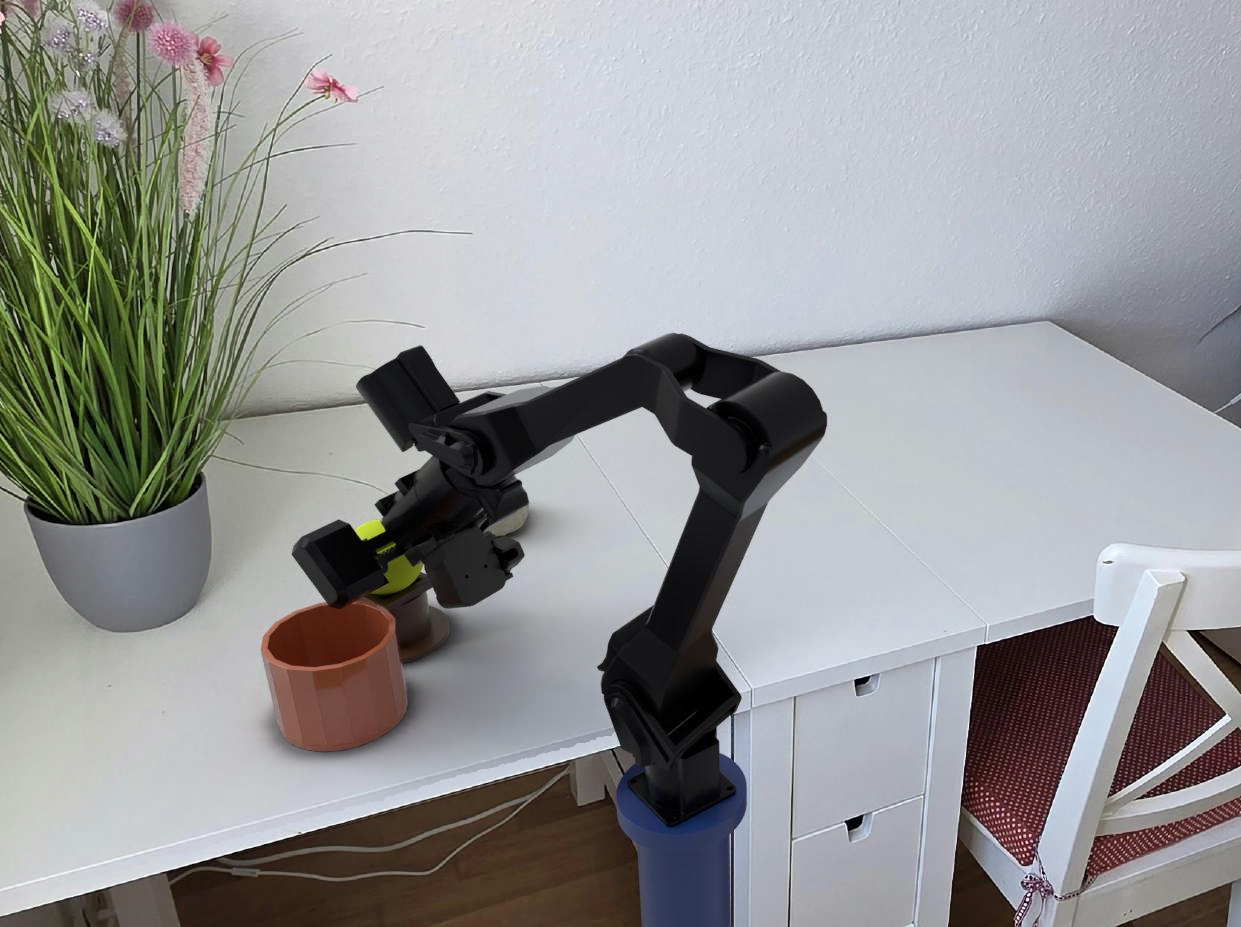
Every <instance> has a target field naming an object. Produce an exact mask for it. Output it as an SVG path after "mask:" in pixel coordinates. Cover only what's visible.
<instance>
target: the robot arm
mask: <svg viewBox="0 0 1241 927" xmlns="http://www.w3.org/2000/svg"><path fill="white" fill-rule="evenodd" d="M435 364H436V363H435V362H434V360H433V359H432V357H431V356H430V354H429V353H428V351H427V350H426V348H425V347H424V346H423V345H421V344H419V345H417V346H413V347H411V348H409V349H406V350H403V351H400V352H399V353H398V354H397V355H396V357H395V358H393V359H391V360H389V361H387V362H385V363H384V364H382V365H380V366H379V367H377V368H376V369H375V370H373V371H372V372H371V373H367V374H365V375H363V376H362V377H360V379H359V380H357V382H356V384H355V389H356V390H357V391H358V393H359V395H360V396H361V397H362V399H363V400H364V401H365V403H366V404H367V405H368V407H369V408H370V409H371V411H372V413H373V414H374V416H376V418H377V419H378V421H379V422H380V423H381V425H382V426H383V428H384V429H385V430H386V432H387V434H389V436H390V438H391V439H392V440H393V442H394V443H395V445H396V446H397V448H399V450H400V452H401V453H405V452H407V451H409V450H410V449H412V448H413V447H414V448H415V449H416V451H417V452H419V453H420V452H421V453H422V452H426V453H428V454H429V455H430V456H431V457H429V459H428V460H426V461H425V463H424V464H422V466H421V467H419V469H417V470H414V471H412V472H410V473H408V474H405V475H403V476H401V477H399V478H398V479H396V481H395V483H393V484H394V486H395V487H396V488H397V490H396V491H394V492H393V493H390V494H389V495H386V496H384V497H382V498H380V499H378V500H377V501H376V502H375V503H374V507H375V508H376V509H377V511H378V512H379V514H380V515H381V516H382V517H381V518H380V519H381V520H380V523H381V524H382V526H383V527H384V529H385V532H383V533H381V534H379V535H377V536H375V537H373V538H371V539H369V540H367V538H365V539H363V540H361V539H360V537H359V536H358V535H357V533H356V532H355V529H354V527H353V526H352V525H351V523H349V522H346V521H344V520H341V519H339V518H338V519H336V520H333V521H332V522H330V523H328V524H325V525H323V526H321V527H319V528H317V529H315V530H313V531H311V532H309V533H306V534H304V535H301V537H300V538H299V539H298V540H297V541H296V542H295V543H294V544H293V546H292V551H291V556H292V558H293V559H294V560H295V562H296V563H297V564H298V566H299V567H300V569H301V570H302V571H303V573H304V574H305V576H306V577H307V578H308V580H309V581H310V582H311V583H312V585H313V586H314V588H315V589H316V590H317V592H318V593H319V594H320V596H321V597H322V598H323V600H324V602H327V604H328V605H329V607H332V608H336V609H342V608H344V607H346V606H348V605H349V604H351V603H353V602H355V601H357V600H359V599H361V598H363V597H364V596H366V595H368V594H370V593H371V592H373V591H375V590H377V589H379V588H381V587H382V586H384V585H386V584H388V583H389V581H388V580H387V578H386V577H385V575H384V574H385V573H386V572H387V571H388V568H389V567H388V563H389V562H391V561H393V560H395V559H397V558H399V557H401V556H403V555H405V557H406V558H407V560H408V561H409V562H410V564H411V565H412V567H414V566H416V565H418V564H420V563H423V569H424V571H425V572H424V573H425V574H427V576H428V579H429V581H430V583H431V585H432V587H433V588H432V589H433V591H434V593H435V599H436V601H437V604H438V605H439V606H440V607H442V608H443V609H445V610H446V609H459V608H468V607H469V608H470V607H474V606H476V605H477V604H479V603H481V602H482V601H484V600H486V599H488V598H489V597H491V596H492V595H494V594H496V593H497V592H499V591H501V590H503V589H504V587H505V586H506V584H507V583H506V582H507V581H509V580H510V579H513V578H514V574H513V572H511V571H512V570H513V569H514V568H516V567H517V566H518V565H519V564H520V563H521V562H522V561H523V559H524V558H525V557H526V556H525V555H526V554H525V551H524V549H523V547H522V545H521V543H520V541H517V540H516V539H513V538H511V537H509V536H506V535H504V536H503V535H502V536H495V534H492V533H491V532H490V531H487V530H489V529H491V528H493V527H495V526H497V525H499V524H501V523H502V522H504V521H506V520H508V519H509V518H510V517H512V516H513V515H514V514H515V513H516V512H517V511H518V510H519V509H521V508H523V507H525V506H527V505H528V504H529V505H530V499H529V495H528V492H527V491H526V489H525V488H524V487H523V482H522V480H521V479H518V478H517V477H516V475H517V474H520V473H522V472H524V471H526V470H528V469H530V468H531V467H533V466H535V465H537V464H540V463H542V462H544V461H545V460H548V459H550V458H551V457H554V456H555V455H556V454H558V452H560V451H561V450H563V448H565V447H566V446H568V445H569V444H570V443H571V442H573V440H574V439H575V437H576V435H579V434H581V433H583V432H586V431H588V430H590V429H593V428H595V427H597V426H601V425H602V424H605V423H607V422H609V421H610V422H611V421H612V420H614V419H617V418H619V417H622V416H624V415H627V414H629V413H632V412H633V411H636V410H638V409H641V408H643V409H645V410H646V411H648V412H650V413H651V414H653V415H654V416H655V417H656V419H657V421H658V422H659V424H660V426H661V428H662V429H663V431H664V433H665V434H666V436H667V438H668V439H669V441H670V443H671V444H672V445H673V446H674V447H676V448H678V449H679V450H681V451H683V452H684V453H686V454H687V455H689V456H690V457H691V459H690V464H691V468H692V470H693V473H694V476H695V478H696V481H697V484H698V486H699V487H698V491H697V494H696V497H695V500H694V502H693V505H692V507H691V510H690V512H689V514H688V517H687V520H686V522H685V524H684V528H683V530H682V532H681V534H680V537H679V540H678V542H677V545H676V547H675V550H674V553H673V555H672V558H671V560H670V563H669V566H668V568H667V570H666V573H665V575H664V578H663V581H662V583H661V586H660V588H659V591H658V593H657V596H656V598H655V601H654V603H653V604H652V605H651V606H650V607H648V608H646V609H645V610H644V611H643V612H641V613H640V614H638V615H637V616H635V617H634V618H632V619H631V620H630V621H628V622H626V623H625V624H623V625H622V626H621V627H620V628H618V629H616V630H615V631H613V632H612V634H611V636H610V638H609V640H608V642H607V648H606V654H605V657H604V658H603V660H602V662H601V663H600V664H598V665H597V666H596V668H597V670H598V671H601V672H602V675H601V680H600V691H601V694H602V695H603V701H604V705H605V708H606V710H607V713H608V716H609V718H610V722H611V725H612V727H613V730H614V732H615V735H616V738H617V740H618V743H619V746H620V748H621V749H622V751H625V752H626V753H628V754H631V755H632V757H633V758H634V764H637V765H639V766H641V767H644V772H642V773H640V774H638V775H636V776H634V777H632V778H630V779H629V780H628V782H627V784H628V788H629V789H630V790H631V791H632V792H633V793H634V794H635V795H636V796H637V797H638V798H639V799H640V800H641V801H642V802H643V803H644V804H645V805H646V806H647V807H648V808H649V809H650V810H651V812H652V813H653V814H654V815H655V816H656V817H657V818H658V819H659V820H660V821H661V822H662V823H663V824H664V825H665V826H666V827H669V828H673V827H675V826H677V825H679V824H681V823H683V822H685V821H687V820H689V819H691V818H692V817H694V816H696V815H698V814H700V813H702V812H704V811H706V810H708V809H710V808H711V807H713V806H715V805H717V804H719V803H721V802H723V801H725V800H727V799H728V798H730V797H732V796H734V795H735V794H736V787H735V785H734V784H732V783H731V782H730V781H729V780H728V779H727V778H726V777H725V776H724V775H723V774H722V773H721V772H720V753H721V752H720V740H719V739H718V726H720V725H721V724H722V723H723V722H725V721H726V720H727V719H728V718H729V717H731V716H734V714H735V713H737V710H738V708H739V706H740V704H741V702H742V698H743V696H742V694H741V693H740V691H739V690H738V689H737V687H736V686H735V684H734V683H733V682H732V681H731V680H732V679H730V677H729V676H728V675H727V674H726V672H725V671H724V668H722V667H721V665H720V663H719V662H718V661H717V659H718V653H719V644H718V642H717V639H716V637H715V635H714V633H713V628H714V626H715V623H716V622H717V618H718V617H719V614H720V612H721V610H722V608H723V605H724V603H725V601H726V599H727V596H728V594H729V592H730V590H731V587H732V585H733V583H734V580H735V578H736V576H737V574H738V571H739V569H740V567H741V566H742V563H743V560H744V559H745V556H746V553H747V551H748V549H749V547H750V545H751V543H752V540H753V537H754V535H755V534H756V531H757V529H758V527H759V524H760V522H761V520H762V517H763V516H764V513H765V510H766V508H767V507H768V504H769V502H770V501H771V499H773V497H774V496H775V495H776V494H777V493H778V492H779V490H781V488H783V486H785V484H786V483H787V482H788V481H790V479H791V478H793V476H794V475H795V474H796V473H797V472H798V471H799V470H800V469H801V468H802V467H803V466H804V464H805V463H806V461H807V460H808V459H809V458H810V456H811V455H812V453H813V452H814V451H815V449H816V448H817V447H818V445H819V444H820V443H821V441H823V439H824V437H825V435H826V431H827V428H828V414H827V413H826V411H824V409H823V406H822V403H821V400H820V398H819V397H818V395H817V393H816V392H815V390H814V388H812V386H810V385H809V384H808V383H807V381H805V380H804V379H803V378H801V377H800V376H797V375H796V374H794V373H791V372H786V371H782V370H781V369H778V368H776V367H775V366H773V365H771V364H769V363H767V362H766V361H765V360H762V359H759V358H757V357H753V356H748V355H744V354H739V353H736V352H731V351H727V350H723V349H719V348H715V347H710V346H709V345H707V344H705V343H703V342H701V341H699V339H696V338H695V337H693V336H690V335H687V334H685V333H682V332H681V333H676V332H669V333H665V334H663V335H661V336H660V335H659V336H658V337H656V338H653V339H651V340H649V341H647V342H645V343H641V344H639V345H637V346H636V347H633V348H631V349H629V350H628V351H626V353H625V354H624V355H623V356H622V357H621V358H618V359H616V360H613V361H611V362H609V363H607V364H604V365H603V366H601V367H598V368H596V369H594V370H592V371H590V372H587V373H585V374H582V375H581V376H578V377H576V378H574V379H572V380H569V381H568V382H566V383H563V384H561V385H558V386H552V387H549V386H547V385H540V386H534V387H528V388H522V389H518V390H514V391H512V392H510V393H508V394H507V393H502V392H497V391H491V390H487V391H485V392H483V393H480V394H478V395H475V396H473V397H471V398H467V399H466V400H463V401H460V399H459V397H458V396H457V394H456V393H455V392H454V390H453V388H452V387H451V386H450V385H449V383H448V381H447V380H446V379H445V378H444V376H443V375H442V373H441V372H440V371H439V369H438V368H437V366H436V365H435ZM688 390H691V391H692V392H694V393H696V394H699V395H702V396H705V397H710V398H715V399H718V400H717V401H716V402H713V403H711V404H709V405H708V406H707V407H705V406H703V405H701V404H700V403H698V402H696V401H695V400H693V399H691V398H690V397H689V396H687V394H686V392H687V391H688ZM528 499H529V500H528ZM484 531H487V532H485V533H483V532H484ZM393 544H396V545H395V546H394V547H391V548H390V550H389V549H387V550H386V552H385V551H383V552H382V554H381V553H379V554H378V553H377V552H379V551H381V550H383V549H385V548H387V547H389V546H391V545H393ZM633 783H635V784H633ZM729 790H732V791H729ZM669 821H672V822H669Z"/></svg>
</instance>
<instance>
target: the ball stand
mask: <svg viewBox="0 0 1241 927" xmlns="http://www.w3.org/2000/svg"><path fill="white" fill-rule="evenodd" d="M431 589H433V587H432V585H431V583H430V581H429V579H428V576H427V574H426V572H423V571H421V572H420V574H419V576H418V577H417V579H416V580H415V581H414V582H413V583H412V584H411V585H409V586H408V587H406V588H405V589H403V590H401V591H399V592H396V593H392V594H386V595H378V594H372V593H370V594H368V595H366V596H364V597H363V598H361V599H359V600H357V601H368V602H371V603H373V604H376V605H379V606H382V607H384V608H386V609H387V610H388V611H389V612H390V613H391V615H392V616H393V617H394V618H395V620H396V626H397V633H398V639H399V645H400V651H401V657H402V663H403V664H406V663H407V664H408V663H411V662H414V661H416V660H420V659H422V658H425V657H426V656H428V655H430V654H432V653H433V652H435V651H436V650H438V649H439V648H441V646H442V645H444V644H445V642H446V641H447V639H448V637H449V635H450V632H451V631H450V630H451V625H450V621H449V618H448V616H447V614H445V613H444V612H443V611H442V610H441V609H439V608H437V607H435V606H432V605H429V598H428V592H427V591H429V590H431Z"/></svg>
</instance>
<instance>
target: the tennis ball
mask: <svg viewBox="0 0 1241 927" xmlns="http://www.w3.org/2000/svg"><path fill="white" fill-rule="evenodd" d="M381 519H382V518H379V519H373V520H369V521H367V522H365V523H362V524H361V525H359V526H358V527H356V528H355V529H354V530H355V532H356V533H357V535H358V536H359V537H360V539H361V540H363V539H365V538H367V540H369V539H371V538H373V537H375V536H377V535H379V534H381V533H383V532H385V529H384V527H383V526H382V524H381V523H380V520H381ZM395 545H396V544H393V545H391V546H389V547H387V548H385V549H383V550H381V551H379V552H377V553H378V554H379V553H381V554H382V552H383V551H385V552H386V550H387V549H389V550H390V548H391V547H394V546H395ZM388 567H389V568H388V571H387V572H386V573H385V574H384V575H385V577H386V578H387V580H388V581H389V583H388V584H386V585H384V586H382V587H381V588H379V589H377V590H375V591H373V592H371V593H372V594H378V595H386V594H392V593H396V592H399V591H401V590H403V589H405V588H406V587H408V586H409V585H411V584H412V583H413V582H414V581H415V580H416V579H417V577H418V576H419V574H420V572H422V570H423V569H424V564H423V563H420V564H418V565H416V566H414V567H412V565H411V564H410V562H409V561H408V560H407V558H406V557H405V555H403V556H401V557H399V558H397V559H395V560H393V561H391V562H389V563H388Z"/></svg>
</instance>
